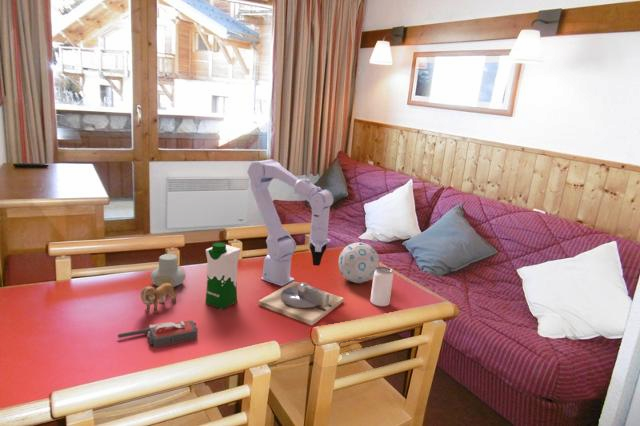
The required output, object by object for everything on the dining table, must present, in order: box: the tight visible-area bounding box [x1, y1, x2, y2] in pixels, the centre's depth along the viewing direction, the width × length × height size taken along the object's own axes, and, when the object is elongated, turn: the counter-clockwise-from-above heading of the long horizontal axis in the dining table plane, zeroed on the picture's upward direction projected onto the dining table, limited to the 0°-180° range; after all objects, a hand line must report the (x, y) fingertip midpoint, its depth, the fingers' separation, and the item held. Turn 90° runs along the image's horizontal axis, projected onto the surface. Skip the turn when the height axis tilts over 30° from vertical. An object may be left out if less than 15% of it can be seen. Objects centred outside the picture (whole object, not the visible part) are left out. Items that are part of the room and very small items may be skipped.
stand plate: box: [257, 280, 344, 326], centre depth 146 cm, size 20×20×2 cm
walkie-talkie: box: [117, 320, 198, 348], centre depth 119 cm, size 9×4×20 cm
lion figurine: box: [140, 283, 178, 314], centre depth 134 cm, size 15×5×9 cm, turn 164°
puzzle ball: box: [338, 241, 380, 284], centre depth 166 cm, size 15×15×15 cm
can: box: [370, 266, 394, 308], centre depth 150 cm, size 6×6×12 cm
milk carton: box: [205, 241, 242, 310], centre depth 139 cm, size 9×9×20 cm
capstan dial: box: [281, 281, 331, 309], centre depth 144 cm, size 17×14×5 cm
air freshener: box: [150, 253, 186, 288], centre depth 149 cm, size 11×8×10 cm
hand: (316, 264), depth 152 cm, fingers closed
